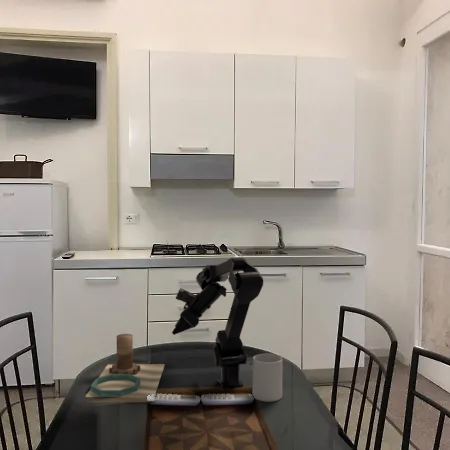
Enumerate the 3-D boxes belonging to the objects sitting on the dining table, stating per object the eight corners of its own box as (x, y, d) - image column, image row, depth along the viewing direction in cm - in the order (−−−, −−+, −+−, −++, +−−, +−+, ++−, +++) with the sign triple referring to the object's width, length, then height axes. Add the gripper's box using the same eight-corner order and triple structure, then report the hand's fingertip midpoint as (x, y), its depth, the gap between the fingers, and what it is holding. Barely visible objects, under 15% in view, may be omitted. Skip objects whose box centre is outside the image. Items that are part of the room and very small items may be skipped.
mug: (284, 401, 130) (284, 362, 129) (253, 402, 129) (254, 363, 129) (277, 385, 142) (278, 349, 141) (250, 385, 141) (250, 349, 141)
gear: (141, 375, 145) (141, 338, 145) (109, 378, 143) (109, 341, 142) (138, 365, 155) (138, 331, 154) (108, 368, 152) (108, 333, 152)
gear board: (154, 402, 129) (154, 391, 129) (85, 402, 129) (85, 391, 129) (164, 368, 156) (164, 359, 156) (107, 368, 156) (107, 359, 156)
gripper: (192, 276, 166) (161, 307, 166) (187, 284, 147) (153, 319, 147) (214, 299, 166) (183, 329, 166) (212, 309, 147) (178, 344, 147)
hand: (174, 330), depth 157 cm, fingers open, 9 cm apart
